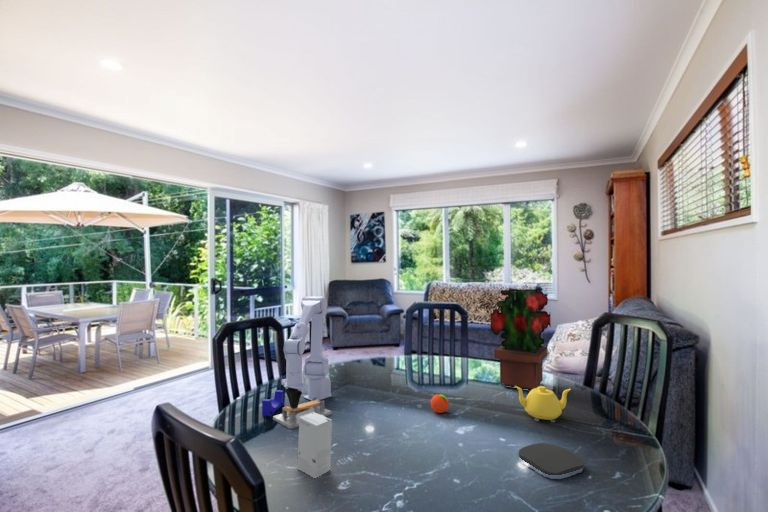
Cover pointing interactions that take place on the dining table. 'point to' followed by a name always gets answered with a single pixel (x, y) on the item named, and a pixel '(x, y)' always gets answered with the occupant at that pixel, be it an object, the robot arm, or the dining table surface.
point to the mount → (293, 417)
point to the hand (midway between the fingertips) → (294, 407)
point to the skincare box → (314, 444)
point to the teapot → (543, 403)
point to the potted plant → (521, 337)
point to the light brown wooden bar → (303, 406)
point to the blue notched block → (273, 403)
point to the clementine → (439, 403)
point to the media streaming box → (551, 458)
